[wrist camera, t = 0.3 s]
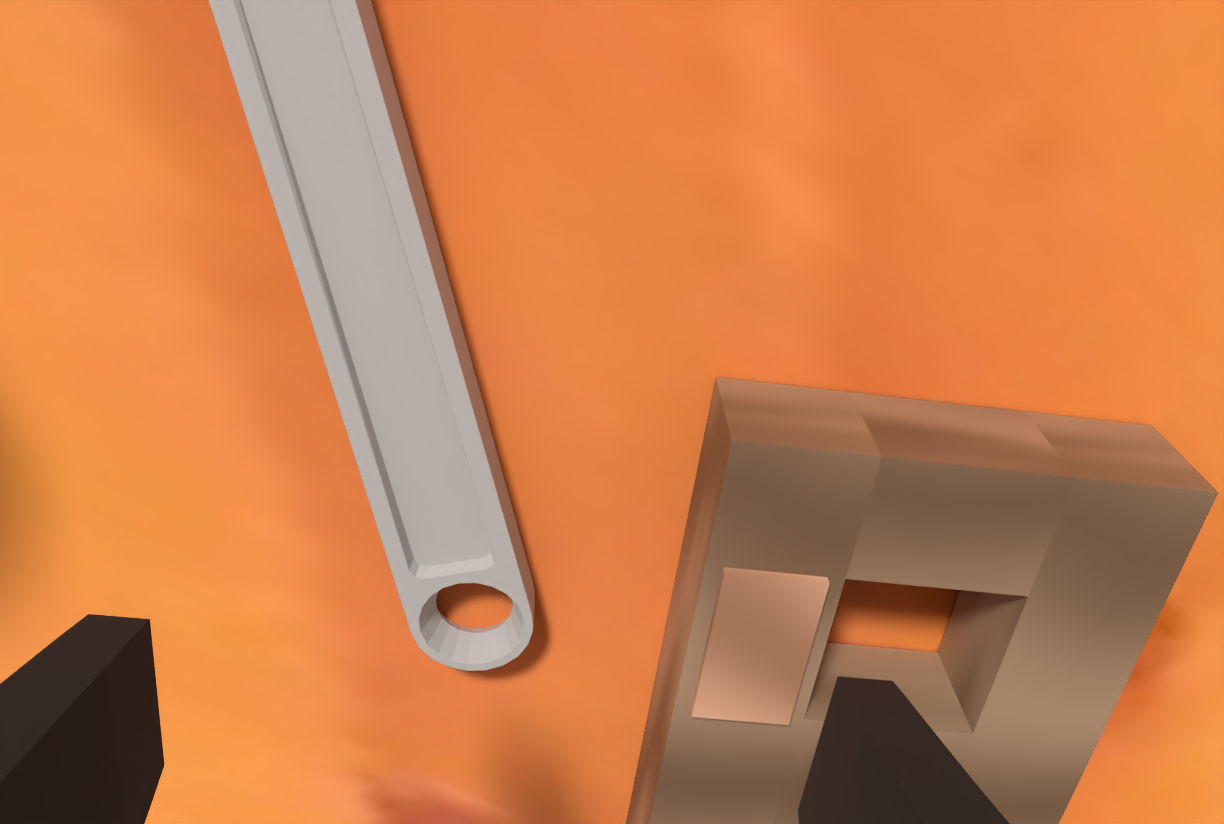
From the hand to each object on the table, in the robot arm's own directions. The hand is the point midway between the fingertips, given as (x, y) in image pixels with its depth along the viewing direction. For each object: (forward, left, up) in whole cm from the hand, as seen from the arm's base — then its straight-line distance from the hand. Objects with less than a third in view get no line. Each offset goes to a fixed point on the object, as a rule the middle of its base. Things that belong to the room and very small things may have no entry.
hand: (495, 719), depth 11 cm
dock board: (-9, -8, -10) cm, 16 cm away
